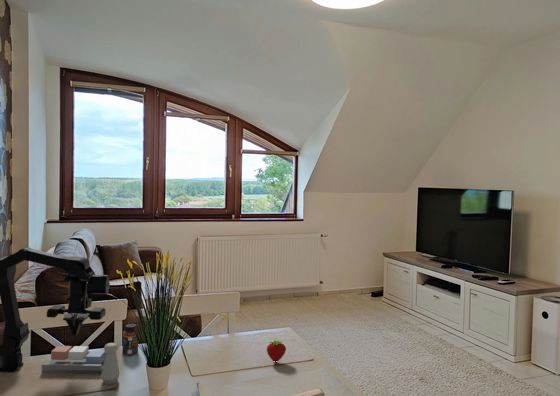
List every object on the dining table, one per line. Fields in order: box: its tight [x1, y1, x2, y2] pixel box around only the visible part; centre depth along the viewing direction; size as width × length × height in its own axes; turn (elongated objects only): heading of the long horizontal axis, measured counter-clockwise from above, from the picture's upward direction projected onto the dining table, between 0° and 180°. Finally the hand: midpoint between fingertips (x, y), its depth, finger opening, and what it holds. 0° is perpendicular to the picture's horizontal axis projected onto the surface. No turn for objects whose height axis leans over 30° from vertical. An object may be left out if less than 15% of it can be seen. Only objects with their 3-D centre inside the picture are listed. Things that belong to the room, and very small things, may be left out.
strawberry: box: [266, 338, 287, 362], centre depth 164 cm, size 6×8×10 cm
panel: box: [41, 350, 106, 376], centre depth 154 cm, size 20×12×3 cm, turn 93°
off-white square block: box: [68, 345, 89, 360], centre depth 154 cm, size 5×5×3 cm
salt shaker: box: [100, 342, 121, 386], centre depth 144 cm, size 6×6×13 cm
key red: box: [50, 345, 73, 361], centre depth 154 cm, size 5×5×3 cm
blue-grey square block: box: [86, 350, 105, 364], centre depth 154 cm, size 5×5×3 cm
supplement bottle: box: [121, 323, 139, 357], centre depth 167 cm, size 6×6×11 cm
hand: (75, 335), depth 154 cm, fingers closed
